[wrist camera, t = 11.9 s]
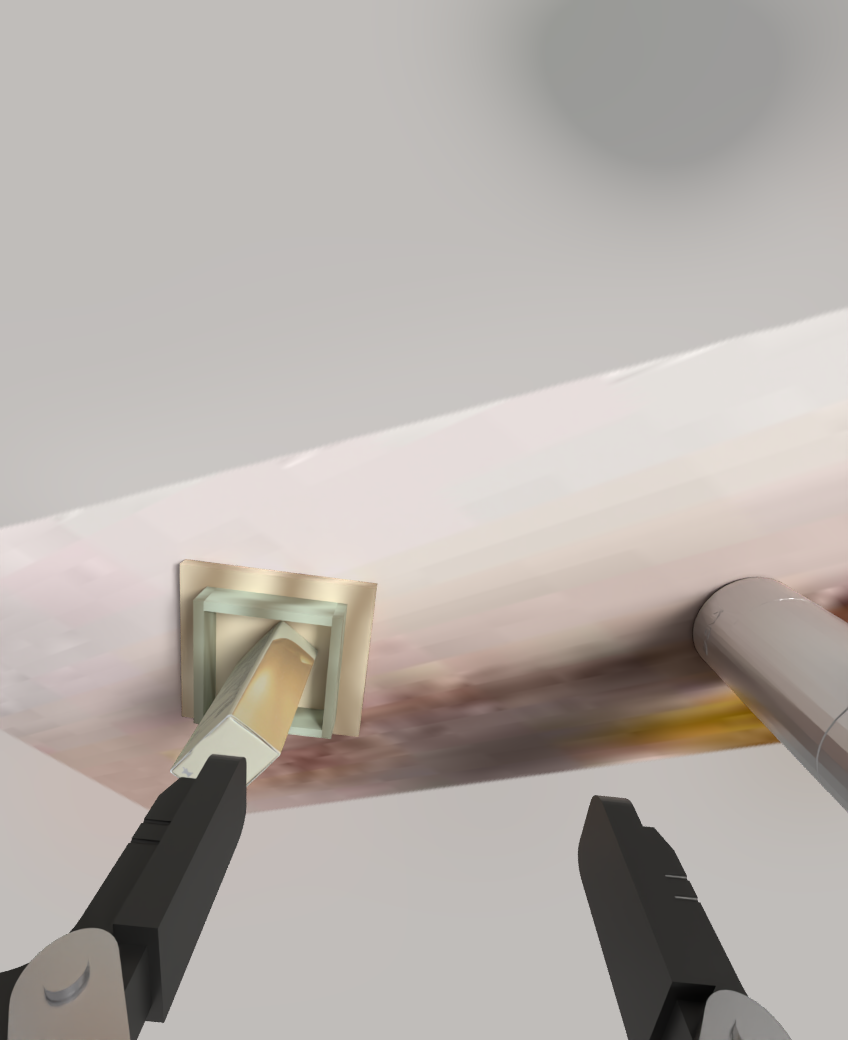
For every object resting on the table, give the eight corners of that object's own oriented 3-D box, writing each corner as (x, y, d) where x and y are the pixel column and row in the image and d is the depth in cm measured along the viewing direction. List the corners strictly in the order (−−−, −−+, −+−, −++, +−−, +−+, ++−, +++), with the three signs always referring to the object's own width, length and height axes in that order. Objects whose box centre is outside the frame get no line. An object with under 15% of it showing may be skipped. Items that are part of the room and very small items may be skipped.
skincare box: (274, 692, 43) (218, 813, 32) (235, 662, 42) (163, 774, 31) (322, 648, 42) (283, 757, 30) (284, 616, 41) (227, 715, 29)
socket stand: (377, 583, 41) (372, 602, 38) (359, 729, 46) (354, 757, 42) (185, 559, 41) (163, 576, 37) (186, 709, 45) (167, 736, 42)
